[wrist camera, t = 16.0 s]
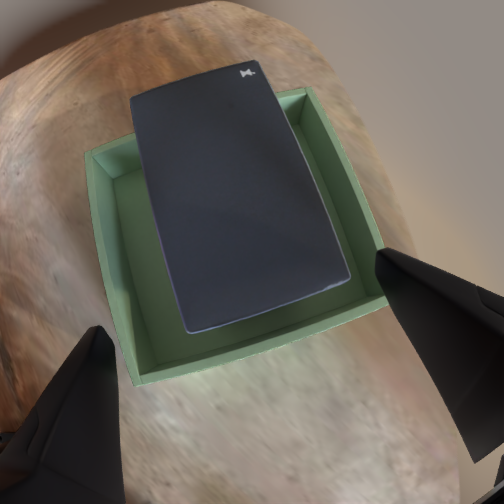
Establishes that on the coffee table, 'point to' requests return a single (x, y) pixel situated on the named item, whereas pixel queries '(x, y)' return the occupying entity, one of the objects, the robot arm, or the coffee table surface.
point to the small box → (232, 198)
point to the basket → (156, 275)
